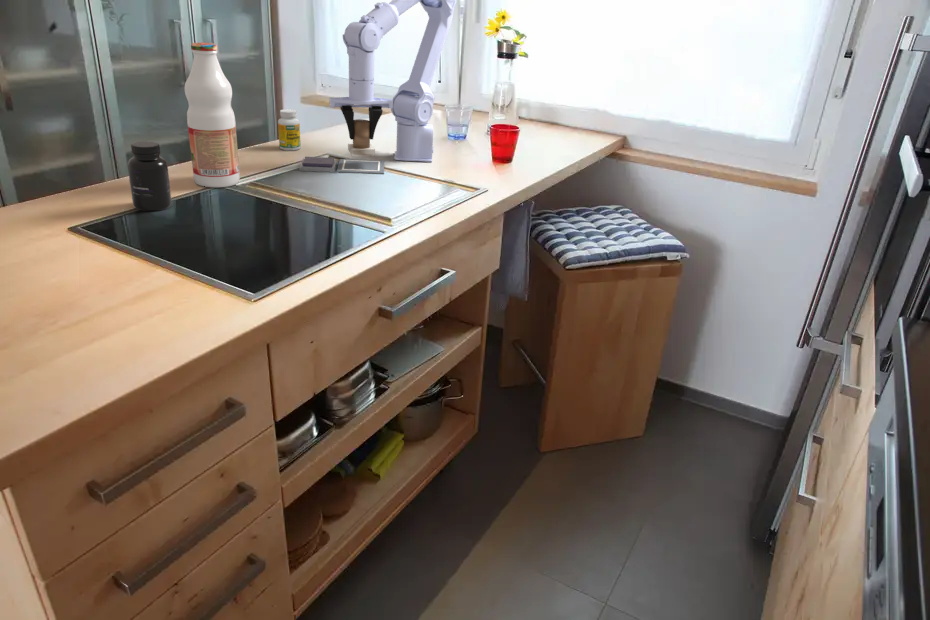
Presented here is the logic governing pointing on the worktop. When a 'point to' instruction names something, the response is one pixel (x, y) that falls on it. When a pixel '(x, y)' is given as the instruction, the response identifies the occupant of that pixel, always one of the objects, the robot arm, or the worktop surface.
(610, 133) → the worktop surface
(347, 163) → the slate mat
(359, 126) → the stamp
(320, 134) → the worktop surface
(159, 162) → the supplement bottle
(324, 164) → the ink pad
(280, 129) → the supplement bottle
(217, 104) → the fruit juice
